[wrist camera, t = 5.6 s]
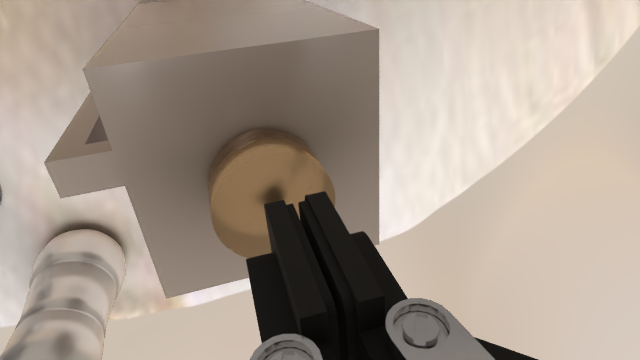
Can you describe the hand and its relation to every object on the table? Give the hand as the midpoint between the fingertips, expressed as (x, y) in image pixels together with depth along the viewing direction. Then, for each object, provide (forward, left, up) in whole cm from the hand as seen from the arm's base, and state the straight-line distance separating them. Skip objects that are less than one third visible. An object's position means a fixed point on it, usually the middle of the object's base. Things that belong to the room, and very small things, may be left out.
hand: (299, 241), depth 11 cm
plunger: (0, 0, -21) cm, 22 cm away
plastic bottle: (+14, +14, -23) cm, 31 cm away
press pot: (+2, 0, -23) cm, 23 cm away
